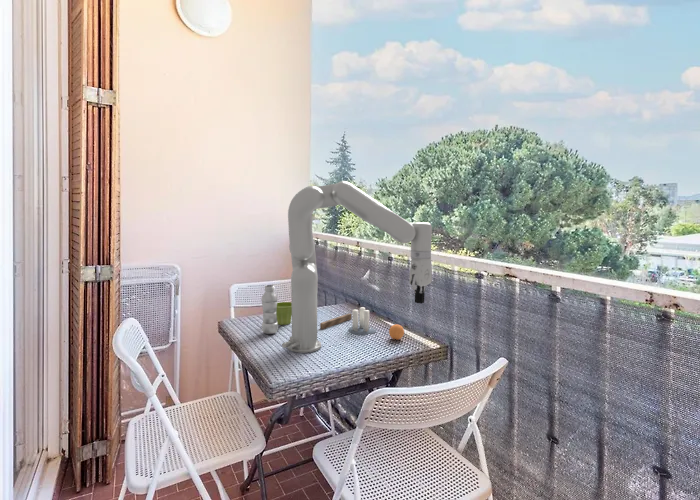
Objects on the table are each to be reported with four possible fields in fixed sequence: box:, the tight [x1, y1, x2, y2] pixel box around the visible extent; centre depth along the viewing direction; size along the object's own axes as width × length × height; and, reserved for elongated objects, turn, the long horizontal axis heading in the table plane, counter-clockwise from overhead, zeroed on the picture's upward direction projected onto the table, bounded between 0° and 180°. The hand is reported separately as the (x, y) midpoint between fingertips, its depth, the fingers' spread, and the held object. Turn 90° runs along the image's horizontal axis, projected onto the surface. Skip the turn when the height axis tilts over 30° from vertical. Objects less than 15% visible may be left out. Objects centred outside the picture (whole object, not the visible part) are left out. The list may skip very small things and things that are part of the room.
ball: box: [388, 323, 405, 341], centre depth 155 cm, size 6×6×6 cm
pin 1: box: [351, 309, 359, 331], centre depth 165 cm, size 2×2×9 cm
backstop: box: [319, 313, 353, 330], centre depth 175 cm, size 20×2×2 cm, turn 142°
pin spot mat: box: [347, 325, 377, 336], centre depth 166 cm, size 12×12×1 cm
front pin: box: [363, 309, 370, 332], centre depth 164 cm, size 2×2×9 cm
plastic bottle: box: [261, 284, 279, 335], centre depth 159 cm, size 6×7×20 cm
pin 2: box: [358, 306, 366, 328], centre depth 168 cm, size 2×2×9 cm
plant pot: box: [276, 301, 292, 326], centre depth 174 cm, size 9×9×9 cm
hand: (419, 302), depth 148 cm, fingers closed
